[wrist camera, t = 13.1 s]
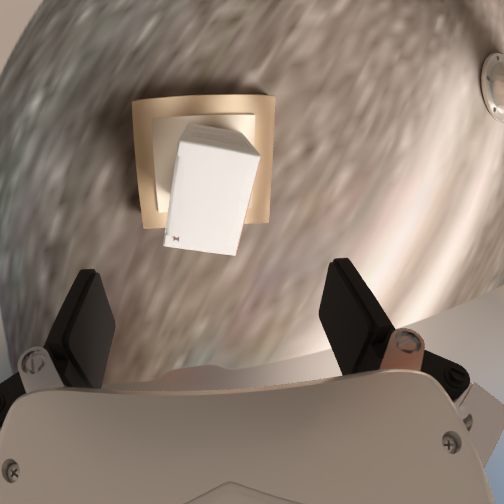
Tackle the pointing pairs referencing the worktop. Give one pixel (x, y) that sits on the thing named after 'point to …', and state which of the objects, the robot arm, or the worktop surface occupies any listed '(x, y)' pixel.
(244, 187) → the small box
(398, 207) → the worktop surface
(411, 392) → the robot arm
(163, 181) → the maple plinth
